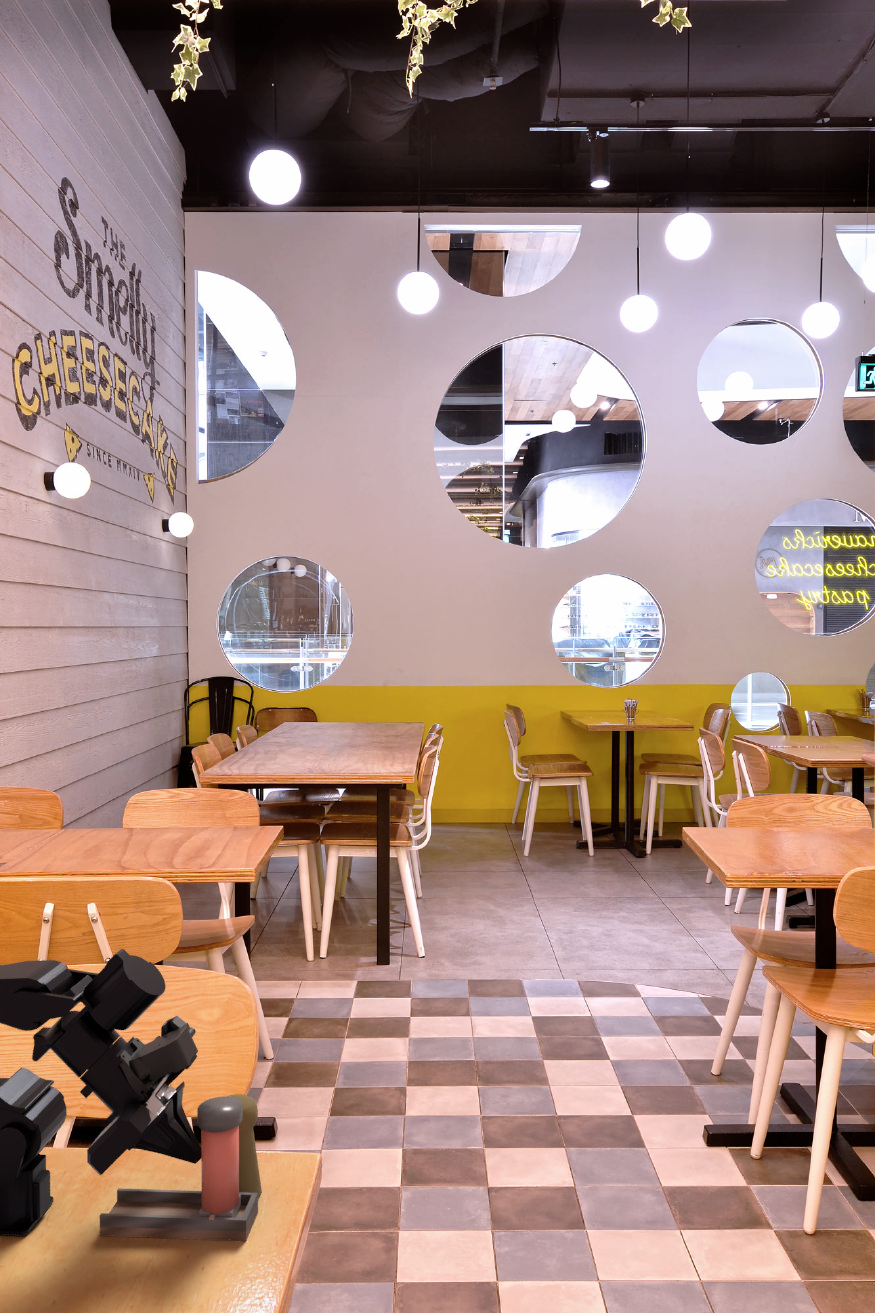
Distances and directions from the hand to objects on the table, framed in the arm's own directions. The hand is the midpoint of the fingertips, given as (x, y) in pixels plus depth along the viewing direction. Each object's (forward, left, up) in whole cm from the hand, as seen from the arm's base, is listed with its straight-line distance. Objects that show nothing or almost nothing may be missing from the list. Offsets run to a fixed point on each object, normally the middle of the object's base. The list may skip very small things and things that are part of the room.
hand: (199, 1159), depth 101 cm
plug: (+2, 0, -6) cm, 6 cm away
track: (-2, 0, -7) cm, 8 cm away
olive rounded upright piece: (+2, +6, -7) cm, 10 cm away
